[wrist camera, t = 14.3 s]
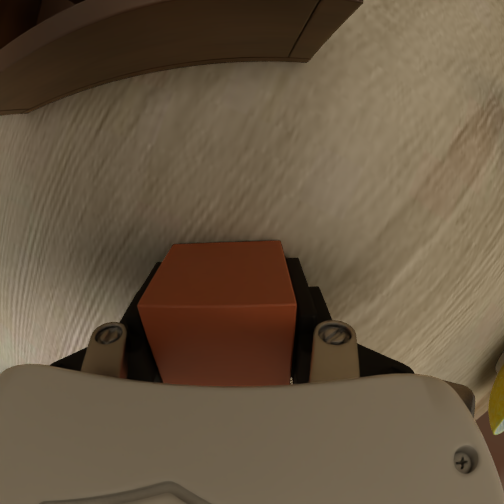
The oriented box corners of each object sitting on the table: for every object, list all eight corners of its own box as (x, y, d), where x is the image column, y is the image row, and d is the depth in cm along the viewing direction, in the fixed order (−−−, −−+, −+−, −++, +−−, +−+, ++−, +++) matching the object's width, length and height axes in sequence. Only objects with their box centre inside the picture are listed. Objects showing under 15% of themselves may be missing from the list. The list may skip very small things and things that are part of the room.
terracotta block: (187, 327, 13) (169, 398, 9) (172, 243, 11) (135, 305, 7) (278, 325, 13) (288, 400, 9) (280, 239, 11) (297, 303, 7)
